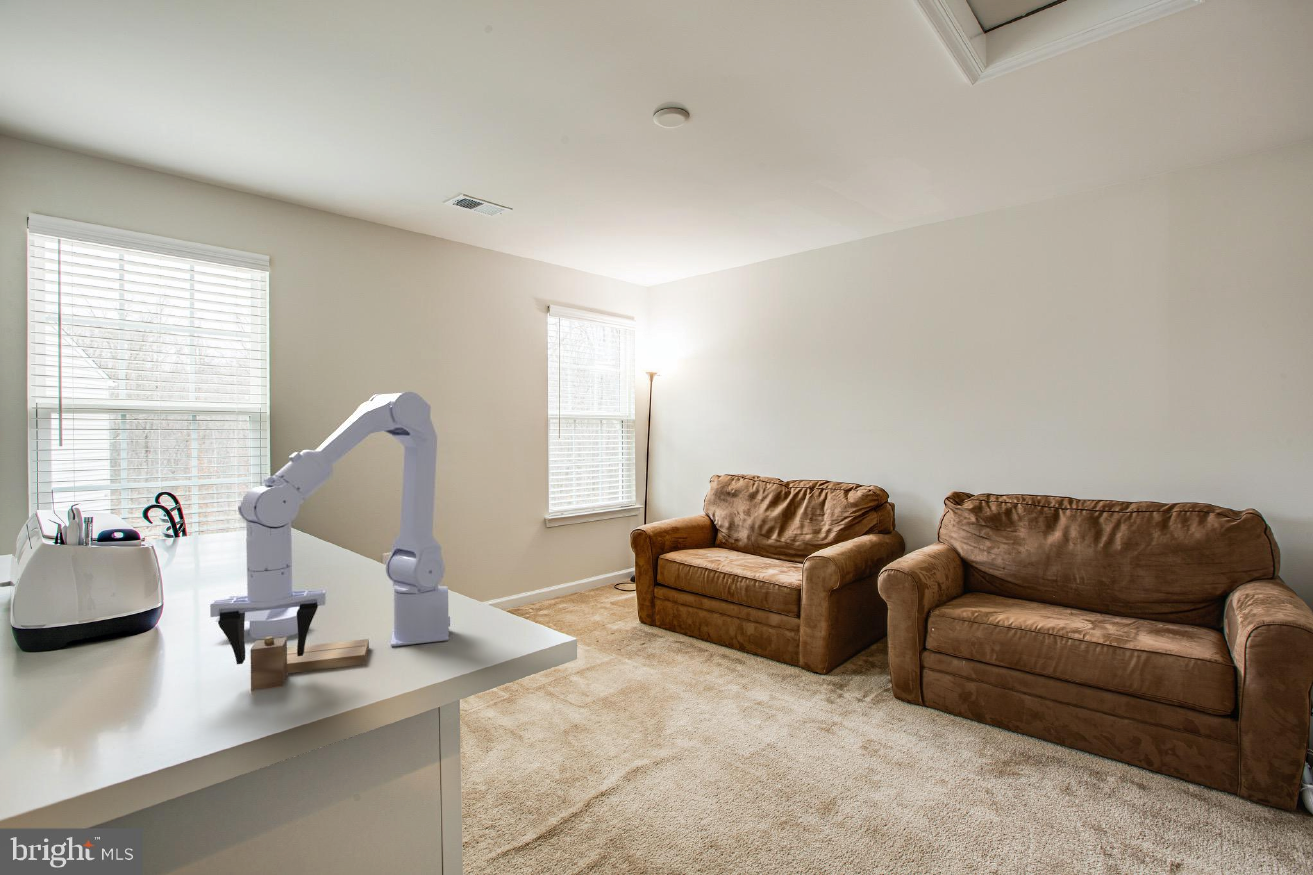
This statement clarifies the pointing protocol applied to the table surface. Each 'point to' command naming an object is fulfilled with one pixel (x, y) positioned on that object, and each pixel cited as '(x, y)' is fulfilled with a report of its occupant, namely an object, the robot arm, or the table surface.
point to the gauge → (268, 663)
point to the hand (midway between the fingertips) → (271, 657)
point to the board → (327, 656)
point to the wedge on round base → (271, 622)
